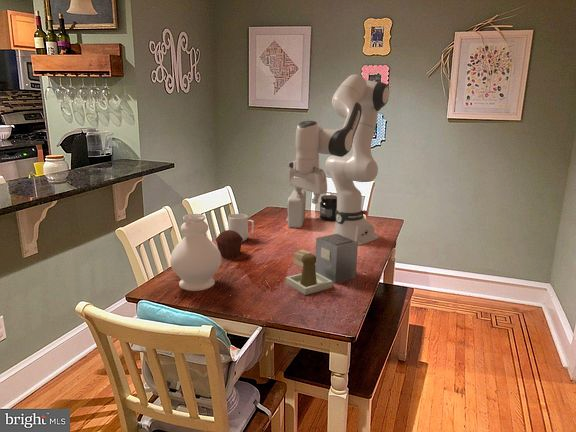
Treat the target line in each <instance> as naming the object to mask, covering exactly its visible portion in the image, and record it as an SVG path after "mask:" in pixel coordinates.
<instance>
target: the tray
mask: <svg viewBox="0 0 576 432" xmlns="http://www.w3.org/2000/svg"><path fill="white" fill-rule="evenodd" d="M301 275H302V272H300V273H297V274H293V275H289V276H286V277H285V284H286V285H288V286H289V287H291V288H292V289H295V290H297V291H298V292H300V293H301V294H303V295H304V296H306V295H310V294H313V293H317V292H320V291H324V290H328V289H330V288H333V283H334V282H333V281H331V280H329V279H328V278H326V277H324V276H322V275H320V274H318V273H316V280H317V284H316V285H312V286H309V287H305V286H303V285H301V284H300V281H301Z"/></svg>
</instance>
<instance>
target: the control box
mask: <svg viewBox="0 0 576 432" xmlns="http://www.w3.org/2000/svg"><path fill="white" fill-rule="evenodd" d="M315 239H316V240H315V256H316V263H315V271H316V273H318V274H320V275H322V276H324V277H326V278H328V279H329V280H331V281H333V283H334V284H339V283H342V282H346V281H349V280H352V279H356V278H357V269H358V249H359V247H358V246H359V245H358V242H356V241H354V240H352V239H349V238H347V237H344V236H342V235H339V234H334V233H333V234H328V235H324V236H320V237H316V238H315Z"/></svg>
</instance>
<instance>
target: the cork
mask: <svg viewBox="0 0 576 432" xmlns="http://www.w3.org/2000/svg"><path fill="white" fill-rule="evenodd" d="M302 263H303V267H301V268H302V269H301V273H302V275H301V281H300V284H301V285H303V286H305V287H309V286H312V285H316V284H317V280H316V271H315V268H316V254H312V253H311V254H304V255H303V256H302Z"/></svg>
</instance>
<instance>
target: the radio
mask: <svg viewBox="0 0 576 432" xmlns="http://www.w3.org/2000/svg"><path fill="white" fill-rule="evenodd" d="M301 191H302V194H303V198H301V199H300V198H298V197H297V192H296V189H295V188H294V189H293V191H292V192H291V194H290V195H289V196H288V198H287V202H286V204H287V205H286V211H287V212H286V213H287V217H286V219H285V222H287V226H288V228H296V229H300V228H302V227H303V224H304V221H305V218H306V202H307V201H306V198H307V197H306V196H307V193H306V190H304V189H301Z"/></svg>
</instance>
